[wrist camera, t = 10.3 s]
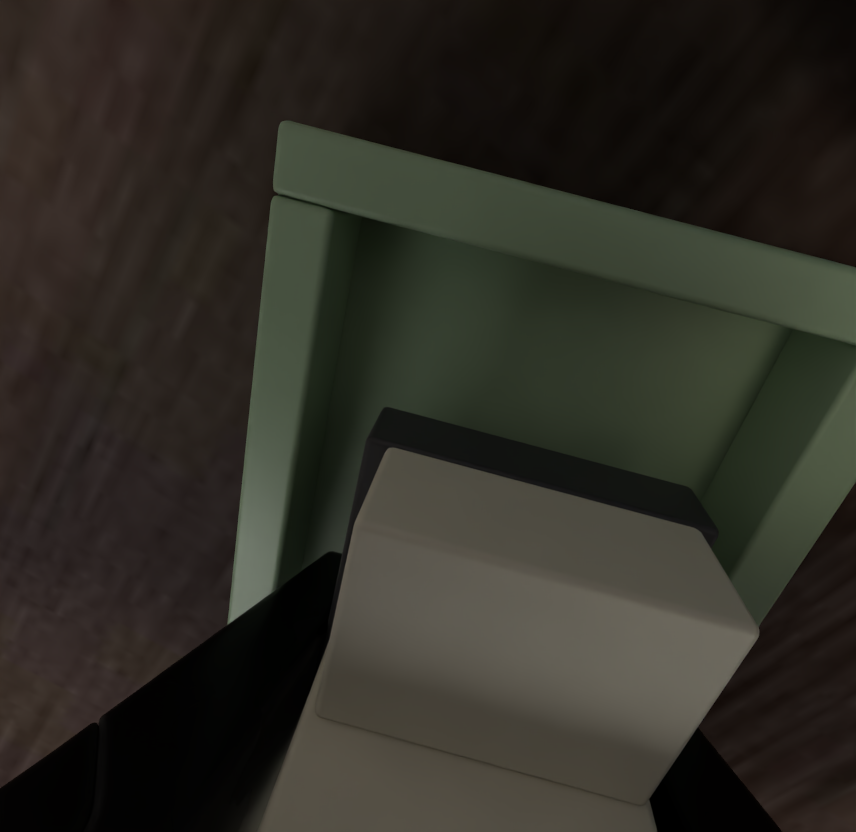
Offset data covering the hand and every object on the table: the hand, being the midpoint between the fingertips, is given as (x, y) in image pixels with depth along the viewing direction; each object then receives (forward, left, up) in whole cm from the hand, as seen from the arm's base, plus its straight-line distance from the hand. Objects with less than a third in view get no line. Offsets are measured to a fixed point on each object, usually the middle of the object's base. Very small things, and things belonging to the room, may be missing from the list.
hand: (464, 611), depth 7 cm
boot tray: (0, 0, -1) cm, 1 cm away
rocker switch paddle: (0, 0, +1) cm, 1 cm away
